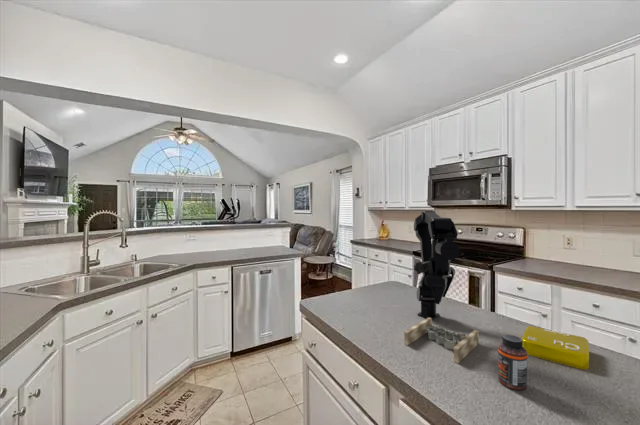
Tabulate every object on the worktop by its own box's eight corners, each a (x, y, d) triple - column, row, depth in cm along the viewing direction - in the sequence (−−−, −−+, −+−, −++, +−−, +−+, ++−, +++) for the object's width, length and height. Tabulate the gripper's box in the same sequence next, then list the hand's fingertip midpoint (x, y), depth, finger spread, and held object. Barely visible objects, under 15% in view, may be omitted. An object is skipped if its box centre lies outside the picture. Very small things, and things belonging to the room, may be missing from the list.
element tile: (588, 352, 88) (588, 336, 88) (589, 372, 77) (589, 354, 77) (527, 337, 98) (527, 323, 98) (520, 354, 87) (520, 338, 87)
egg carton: (467, 348, 90) (467, 334, 90) (448, 352, 88) (448, 338, 88) (442, 334, 100) (442, 322, 100) (424, 337, 98) (424, 325, 98)
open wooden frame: (428, 328, 104) (428, 317, 104) (478, 343, 92) (478, 330, 92) (404, 344, 92) (404, 331, 92) (458, 363, 81) (458, 348, 81)
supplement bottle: (492, 377, 74) (492, 332, 74) (514, 376, 74) (514, 332, 74) (509, 392, 68) (509, 343, 68) (533, 390, 68) (533, 342, 68)
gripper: (423, 249, 112) (423, 289, 112) (408, 256, 96) (408, 303, 97) (455, 251, 105) (455, 294, 106) (444, 259, 90) (444, 310, 90)
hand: (440, 300), depth 100 cm, fingers open, 9 cm apart
